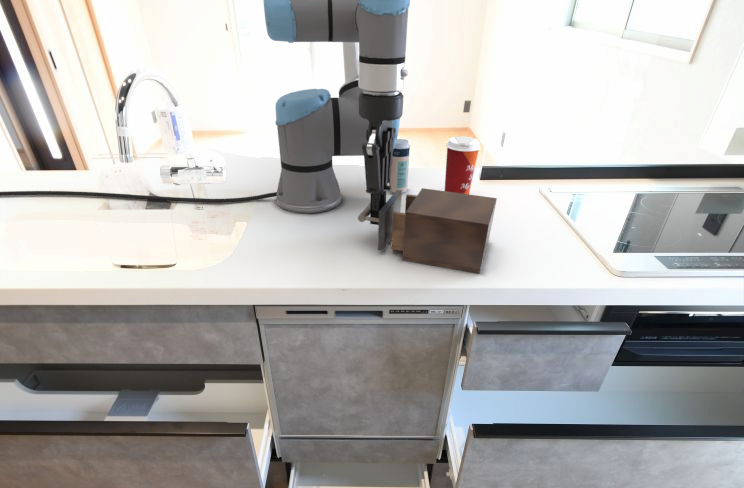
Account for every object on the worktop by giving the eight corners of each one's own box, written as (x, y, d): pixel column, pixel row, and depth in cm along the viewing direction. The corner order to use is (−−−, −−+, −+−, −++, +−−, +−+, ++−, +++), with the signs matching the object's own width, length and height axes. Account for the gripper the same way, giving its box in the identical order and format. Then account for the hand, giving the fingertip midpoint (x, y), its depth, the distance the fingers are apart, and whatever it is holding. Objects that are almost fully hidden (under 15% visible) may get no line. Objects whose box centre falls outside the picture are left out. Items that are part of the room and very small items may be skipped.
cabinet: (402, 260, 85) (405, 212, 79) (418, 232, 94) (422, 188, 88) (479, 273, 81) (489, 224, 75) (487, 244, 90) (496, 198, 85)
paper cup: (471, 208, 105) (481, 146, 96) (438, 205, 106) (445, 143, 97) (471, 196, 111) (481, 136, 102) (441, 193, 112) (448, 134, 103)
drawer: (353, 246, 87) (353, 207, 82) (372, 222, 95) (373, 187, 91) (446, 262, 82) (452, 222, 78) (457, 236, 91) (463, 199, 86)
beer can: (395, 186, 115) (398, 137, 108) (410, 190, 113) (414, 141, 106) (384, 191, 112) (386, 141, 105) (399, 196, 110) (402, 145, 103)
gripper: (392, 100, 69) (386, 240, 83) (412, 86, 78) (404, 213, 93) (346, 96, 70) (348, 234, 85) (371, 83, 80) (369, 208, 95)
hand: (377, 223), depth 89 cm, fingers closed
